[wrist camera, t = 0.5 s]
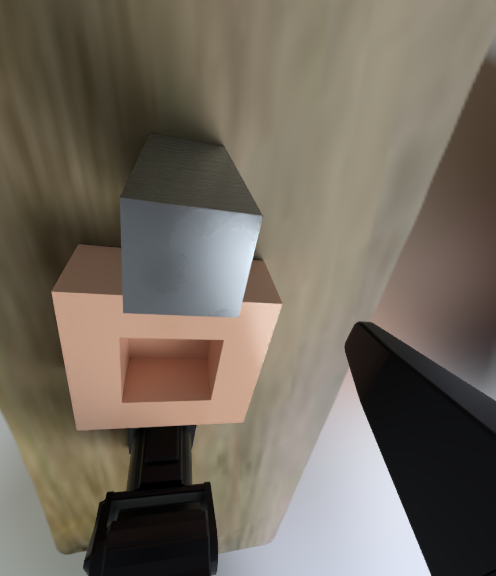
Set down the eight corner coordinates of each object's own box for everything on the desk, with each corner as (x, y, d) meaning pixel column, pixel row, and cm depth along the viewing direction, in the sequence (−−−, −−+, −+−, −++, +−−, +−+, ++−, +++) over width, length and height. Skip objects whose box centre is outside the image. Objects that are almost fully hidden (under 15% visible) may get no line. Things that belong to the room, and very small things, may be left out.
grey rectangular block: (214, 214, 19) (238, 317, 11) (147, 205, 18) (122, 313, 10) (224, 146, 17) (263, 215, 9) (149, 132, 16) (120, 197, 8)
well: (234, 372, 29) (243, 422, 25) (93, 373, 25) (76, 430, 21) (264, 260, 22) (282, 304, 18) (78, 243, 19) (51, 291, 15)
